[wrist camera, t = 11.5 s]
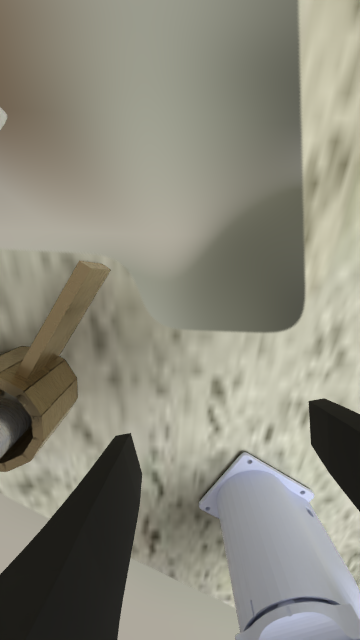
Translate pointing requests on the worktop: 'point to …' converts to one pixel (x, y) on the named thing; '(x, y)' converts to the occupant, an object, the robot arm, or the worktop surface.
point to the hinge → (48, 366)
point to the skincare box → (2, 118)
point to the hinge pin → (11, 421)
